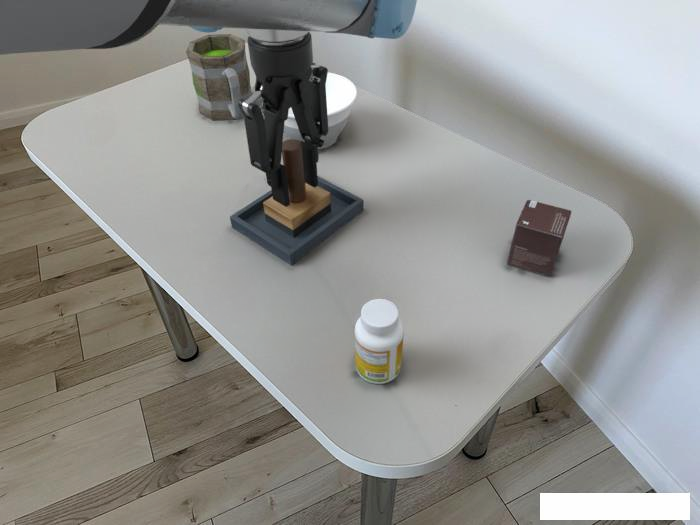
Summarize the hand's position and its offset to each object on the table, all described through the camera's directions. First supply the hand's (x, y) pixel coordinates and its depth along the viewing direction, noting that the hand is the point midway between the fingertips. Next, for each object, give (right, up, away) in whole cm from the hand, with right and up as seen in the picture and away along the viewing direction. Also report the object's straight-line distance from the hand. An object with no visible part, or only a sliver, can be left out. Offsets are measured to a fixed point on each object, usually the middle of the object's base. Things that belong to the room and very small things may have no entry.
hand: (295, 192), depth 83 cm
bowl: (+1, +12, +20) cm, 23 cm away
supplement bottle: (+11, -22, -16) cm, 30 cm away
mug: (-15, +18, +26) cm, 35 cm away
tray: (0, -4, +4) cm, 5 cm away
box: (+33, -10, -3) cm, 35 cm away
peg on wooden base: (0, -3, +3) cm, 4 cm away
